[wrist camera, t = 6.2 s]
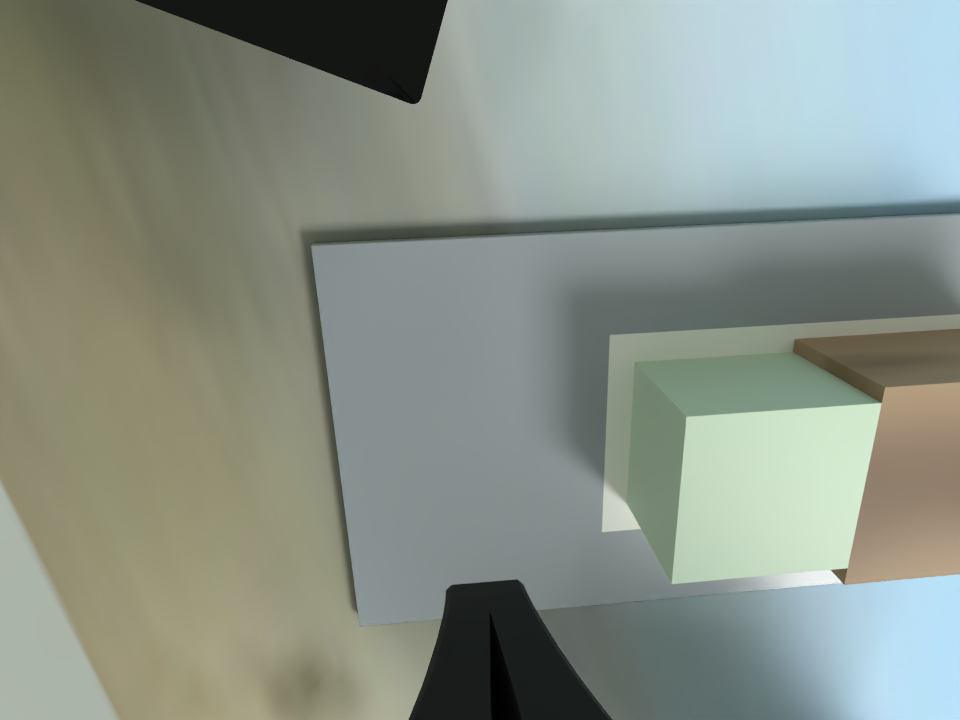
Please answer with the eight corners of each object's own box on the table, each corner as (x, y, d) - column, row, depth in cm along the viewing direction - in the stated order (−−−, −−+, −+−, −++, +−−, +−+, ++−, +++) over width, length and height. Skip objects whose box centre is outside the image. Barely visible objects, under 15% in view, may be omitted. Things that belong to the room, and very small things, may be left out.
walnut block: (936, 492, 19) (1043, 566, 16) (770, 506, 19) (844, 584, 16) (978, 327, 18) (1109, 372, 14) (795, 339, 17) (885, 387, 14)
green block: (771, 492, 19) (847, 568, 16) (626, 503, 19) (671, 584, 15) (793, 351, 17) (881, 403, 14) (634, 362, 17) (686, 416, 14)
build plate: (973, 562, 21) (983, 570, 21) (360, 617, 20) (359, 626, 19) (1076, 207, 17) (1091, 208, 17) (313, 243, 16) (310, 245, 15)
